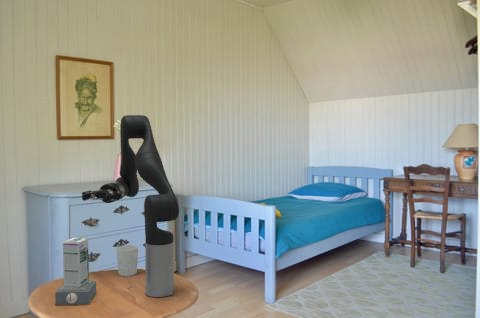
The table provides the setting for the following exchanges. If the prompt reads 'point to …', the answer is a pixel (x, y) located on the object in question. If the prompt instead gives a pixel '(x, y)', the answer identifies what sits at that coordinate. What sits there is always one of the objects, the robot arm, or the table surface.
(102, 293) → the table surface
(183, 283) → the table surface
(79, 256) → the syrup box
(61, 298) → the scale
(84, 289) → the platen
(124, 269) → the white cup
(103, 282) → the table surface
